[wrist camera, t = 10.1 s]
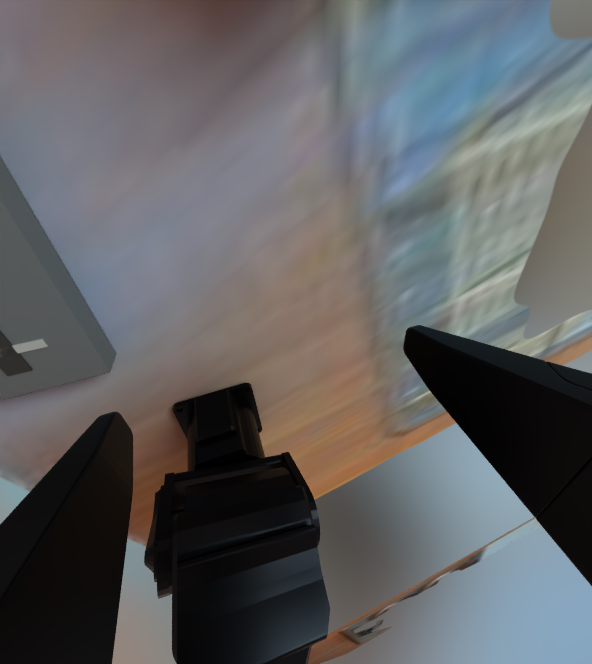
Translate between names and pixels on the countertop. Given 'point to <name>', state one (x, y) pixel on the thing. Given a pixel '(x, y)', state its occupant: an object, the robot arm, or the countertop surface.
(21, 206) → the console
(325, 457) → the countertop surface
